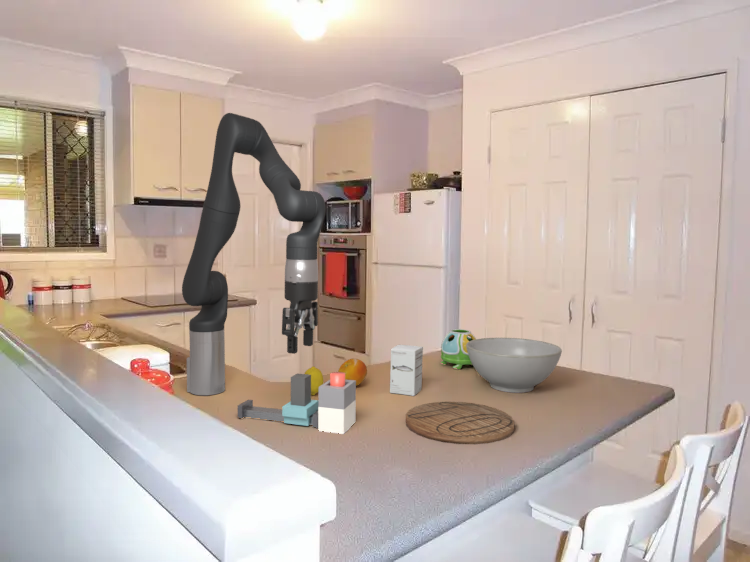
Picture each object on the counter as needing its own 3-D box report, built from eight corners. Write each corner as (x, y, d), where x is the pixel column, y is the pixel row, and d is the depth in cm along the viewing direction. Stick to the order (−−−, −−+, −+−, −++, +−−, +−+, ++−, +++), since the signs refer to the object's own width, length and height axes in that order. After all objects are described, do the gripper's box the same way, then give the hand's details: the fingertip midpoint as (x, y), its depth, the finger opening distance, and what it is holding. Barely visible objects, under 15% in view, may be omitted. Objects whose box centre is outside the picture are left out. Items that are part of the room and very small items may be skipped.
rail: (237, 418, 131) (237, 405, 131) (248, 412, 136) (248, 399, 136) (317, 428, 125) (317, 414, 125) (325, 421, 130) (326, 408, 130)
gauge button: (327, 401, 125) (327, 374, 124) (333, 396, 128) (333, 371, 128) (341, 402, 124) (342, 376, 123) (347, 398, 127) (347, 372, 127)
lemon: (319, 398, 148) (320, 369, 147) (300, 397, 149) (300, 368, 148) (325, 393, 153) (326, 364, 152) (306, 391, 154) (306, 363, 153)
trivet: (383, 420, 132) (384, 413, 132) (459, 403, 147) (459, 396, 147) (458, 455, 112) (458, 446, 112) (537, 430, 127) (537, 422, 126)
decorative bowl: (525, 372, 179) (526, 335, 178) (580, 396, 153) (582, 353, 152) (449, 378, 170) (450, 339, 169) (495, 404, 145) (496, 358, 144)
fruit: (332, 388, 158) (332, 360, 157) (344, 381, 166) (345, 354, 165) (360, 391, 155) (360, 363, 154) (371, 384, 163) (371, 357, 162)
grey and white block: (318, 431, 124) (318, 387, 123) (331, 419, 131) (331, 378, 130) (343, 434, 122) (343, 389, 121) (355, 422, 129) (355, 380, 129)
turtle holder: (473, 375, 175) (474, 337, 174) (432, 364, 189) (433, 329, 188) (498, 369, 183) (499, 333, 182) (457, 359, 197) (458, 326, 196)
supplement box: (389, 393, 154) (389, 348, 153) (398, 386, 160) (398, 343, 159) (414, 396, 151) (415, 350, 150) (422, 389, 158) (423, 345, 157)
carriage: (282, 424, 127) (282, 378, 126) (295, 414, 133) (295, 371, 132) (306, 427, 125) (306, 380, 124) (318, 417, 132) (318, 373, 131)
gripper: (299, 276, 134) (298, 342, 135) (271, 280, 120) (270, 354, 122) (328, 277, 132) (327, 344, 133) (303, 282, 118) (302, 357, 120)
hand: (300, 349), depth 128 cm, fingers open, 8 cm apart
